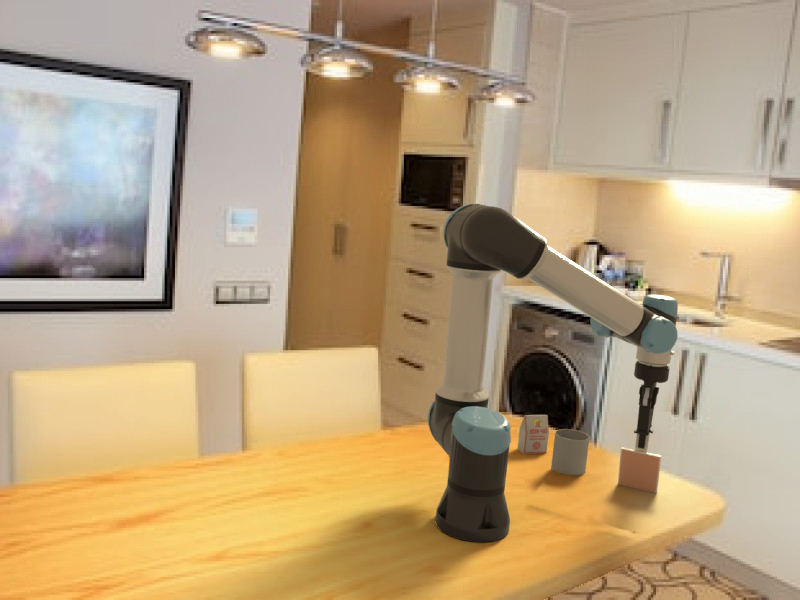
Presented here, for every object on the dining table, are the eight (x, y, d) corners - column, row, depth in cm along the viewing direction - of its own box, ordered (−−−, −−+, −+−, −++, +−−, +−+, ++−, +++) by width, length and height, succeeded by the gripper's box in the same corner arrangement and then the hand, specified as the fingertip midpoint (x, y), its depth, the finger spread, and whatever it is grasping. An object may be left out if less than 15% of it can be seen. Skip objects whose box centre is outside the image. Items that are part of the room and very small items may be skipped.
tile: (621, 446, 177) (620, 448, 176) (661, 455, 173) (660, 457, 172) (618, 483, 181) (617, 485, 180) (657, 492, 177) (656, 495, 176)
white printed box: (517, 448, 202) (521, 413, 200) (540, 448, 204) (544, 412, 202) (523, 453, 199) (527, 417, 197) (546, 453, 200) (550, 417, 199)
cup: (575, 482, 182) (580, 442, 180) (545, 472, 186) (549, 434, 185) (590, 473, 188) (594, 435, 187) (559, 464, 193) (564, 426, 192)
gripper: (667, 371, 165) (653, 472, 169) (672, 359, 177) (659, 454, 181) (631, 365, 168) (619, 464, 172) (639, 354, 180) (627, 447, 184)
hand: (639, 459), depth 176 cm, fingers closed
